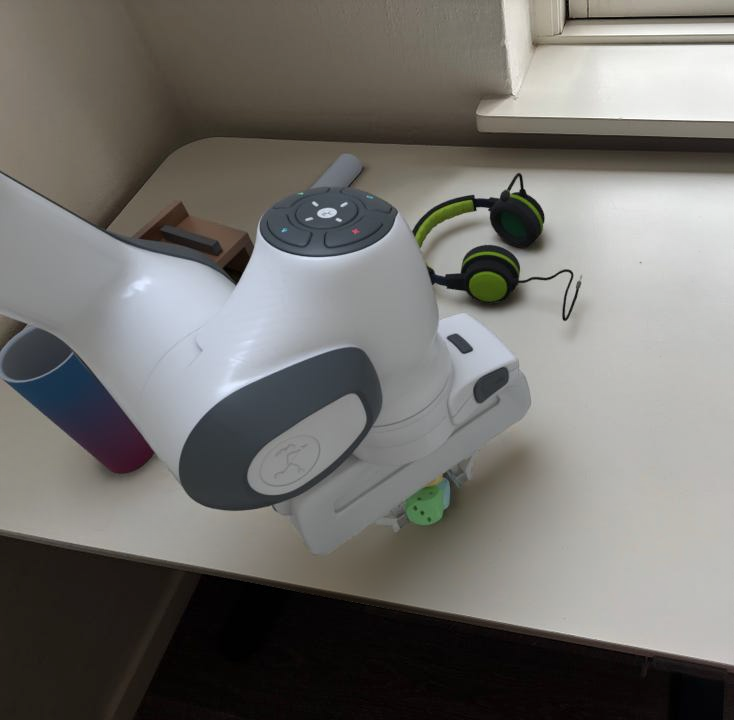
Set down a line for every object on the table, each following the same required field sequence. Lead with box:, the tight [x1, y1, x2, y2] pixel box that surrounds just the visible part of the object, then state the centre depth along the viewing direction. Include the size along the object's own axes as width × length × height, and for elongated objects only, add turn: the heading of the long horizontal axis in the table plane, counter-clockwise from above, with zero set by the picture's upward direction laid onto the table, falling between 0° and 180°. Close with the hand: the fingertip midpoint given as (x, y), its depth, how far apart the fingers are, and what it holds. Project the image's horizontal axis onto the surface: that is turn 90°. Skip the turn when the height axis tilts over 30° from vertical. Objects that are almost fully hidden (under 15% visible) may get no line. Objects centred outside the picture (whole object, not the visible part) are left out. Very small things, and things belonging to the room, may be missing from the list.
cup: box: [0, 325, 155, 474], centre depth 63 cm, size 7×7×15 cm
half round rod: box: [309, 153, 363, 189], centre depth 90 cm, size 4×20×2 cm, turn 155°
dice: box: [404, 473, 451, 526], centre depth 59 cm, size 8×3×6 cm, turn 176°
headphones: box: [411, 172, 583, 322], centre depth 75 cm, size 16×10×20 cm
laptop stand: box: [130, 199, 255, 274], centre depth 79 cm, size 14×10×8 cm
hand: (429, 498), depth 59 cm, fingers closed on dice, 5 cm apart
